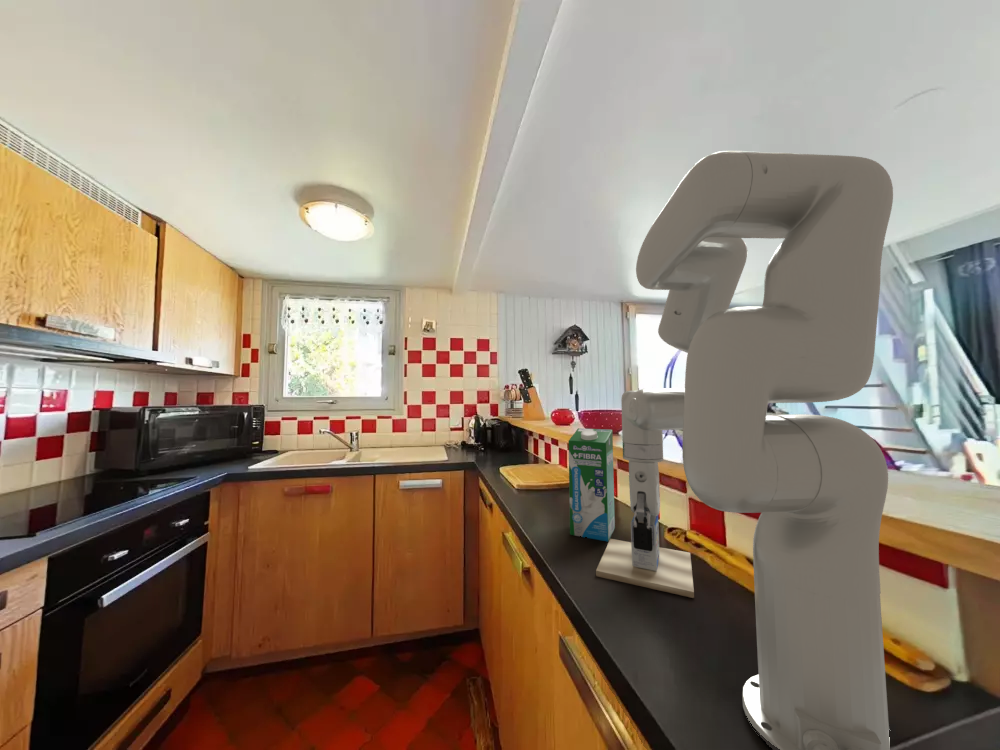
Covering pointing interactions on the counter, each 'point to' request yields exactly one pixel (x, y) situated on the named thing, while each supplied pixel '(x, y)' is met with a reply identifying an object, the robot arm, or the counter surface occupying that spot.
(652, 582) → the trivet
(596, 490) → the milk carton
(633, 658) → the counter surface
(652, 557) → the medicine box
